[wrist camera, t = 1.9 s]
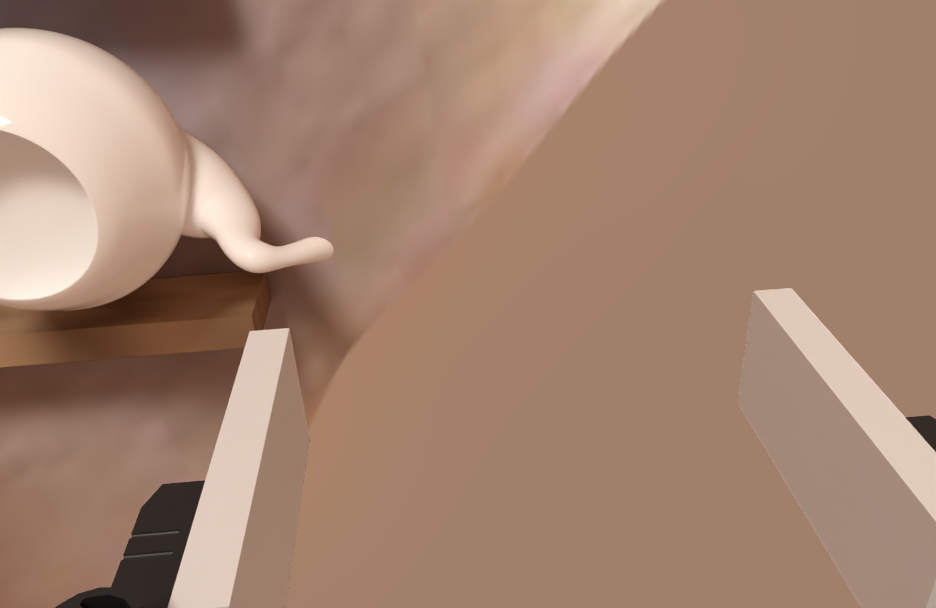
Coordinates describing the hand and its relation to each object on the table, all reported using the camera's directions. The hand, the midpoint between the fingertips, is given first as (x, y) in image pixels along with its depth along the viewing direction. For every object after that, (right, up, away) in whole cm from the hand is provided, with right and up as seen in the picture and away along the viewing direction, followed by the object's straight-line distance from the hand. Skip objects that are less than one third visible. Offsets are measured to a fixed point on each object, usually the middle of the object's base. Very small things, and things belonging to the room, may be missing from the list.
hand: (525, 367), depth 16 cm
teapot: (-16, +9, +16) cm, 24 cm away
